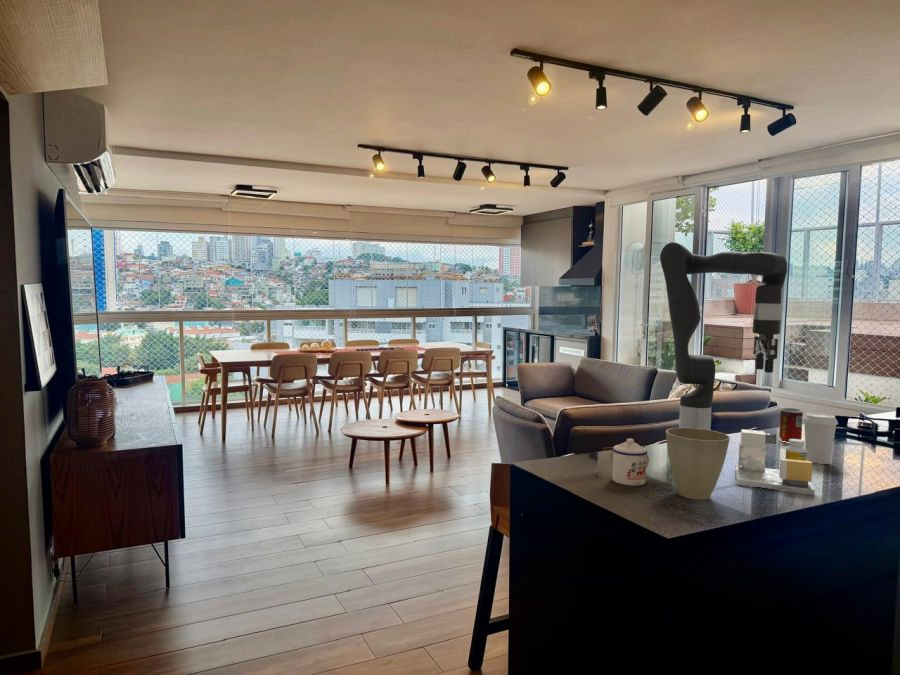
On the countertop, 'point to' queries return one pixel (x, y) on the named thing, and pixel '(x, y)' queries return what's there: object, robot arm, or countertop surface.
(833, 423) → the white tapered bin
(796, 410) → the soda can
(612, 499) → the countertop surface
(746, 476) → the base
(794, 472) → the white-tipped yellow pillar
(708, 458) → the plant pot
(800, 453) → the supplement bottle
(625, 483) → the teacup with lid
